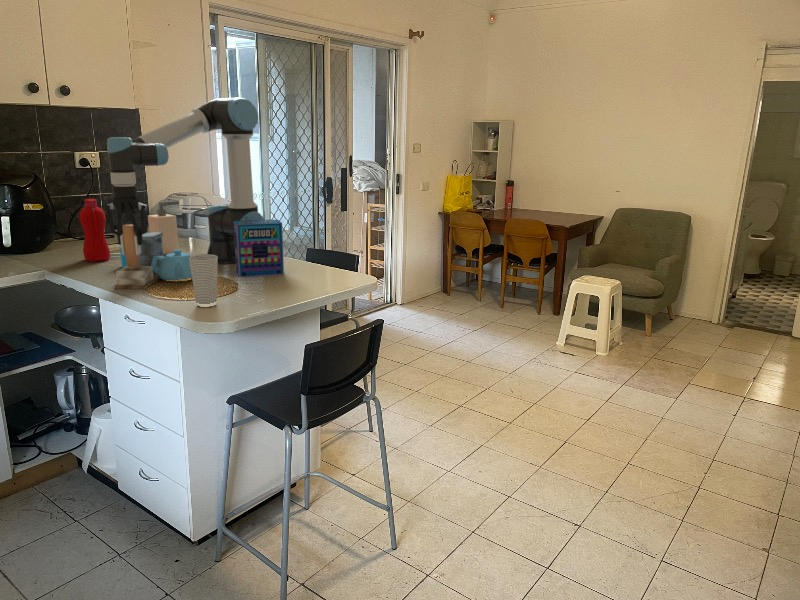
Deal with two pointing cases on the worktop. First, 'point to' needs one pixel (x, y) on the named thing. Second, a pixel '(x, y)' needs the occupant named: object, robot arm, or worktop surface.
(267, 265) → the box
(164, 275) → the teapot
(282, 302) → the worktop surface
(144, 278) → the socket station
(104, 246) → the water bottle
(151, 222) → the soap dispenser
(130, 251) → the peg
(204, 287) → the cup
